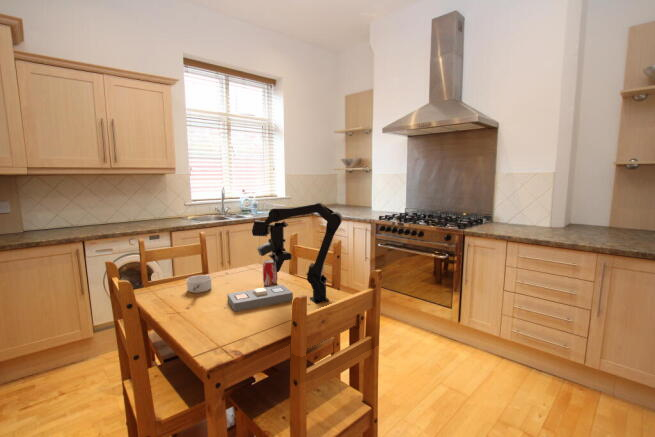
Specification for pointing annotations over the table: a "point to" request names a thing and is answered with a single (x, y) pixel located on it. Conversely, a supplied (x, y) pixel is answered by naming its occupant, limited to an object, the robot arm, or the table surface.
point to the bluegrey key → (277, 290)
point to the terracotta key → (241, 296)
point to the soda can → (269, 273)
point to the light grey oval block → (199, 283)
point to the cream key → (260, 291)
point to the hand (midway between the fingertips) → (277, 271)
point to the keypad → (259, 298)
